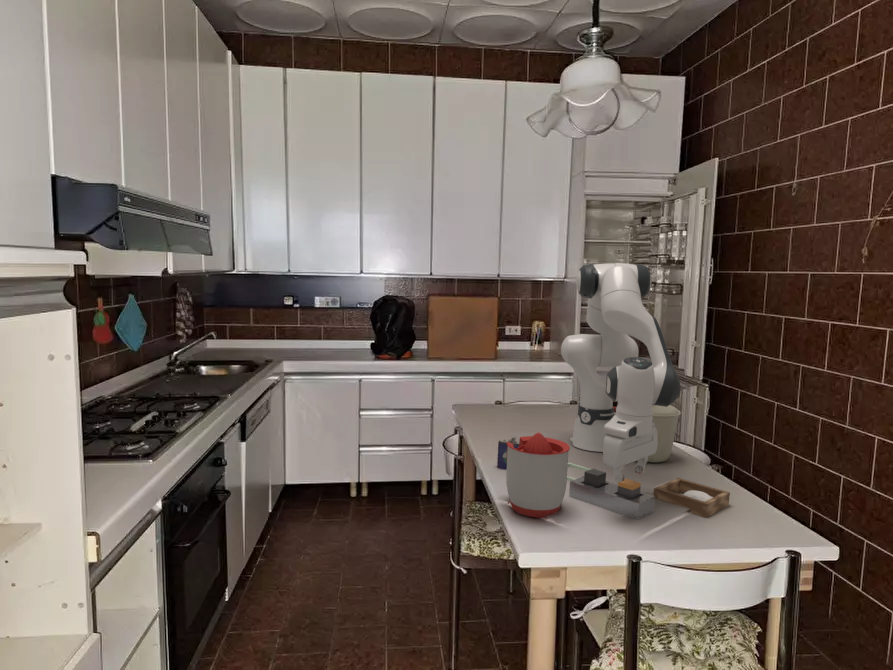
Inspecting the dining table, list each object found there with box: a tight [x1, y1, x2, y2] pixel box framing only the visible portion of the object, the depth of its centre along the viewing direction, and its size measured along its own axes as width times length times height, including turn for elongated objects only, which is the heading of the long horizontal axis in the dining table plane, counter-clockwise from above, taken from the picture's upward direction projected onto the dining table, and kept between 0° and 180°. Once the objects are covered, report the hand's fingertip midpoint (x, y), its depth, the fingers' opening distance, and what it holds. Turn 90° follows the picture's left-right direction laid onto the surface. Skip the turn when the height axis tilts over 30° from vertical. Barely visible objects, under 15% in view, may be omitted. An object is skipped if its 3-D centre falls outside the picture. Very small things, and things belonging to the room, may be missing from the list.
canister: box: [646, 404, 682, 464], centre depth 204 cm, size 18×18×21 cm
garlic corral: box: [653, 477, 731, 519], centre depth 166 cm, size 13×14×4 cm
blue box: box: [496, 435, 519, 471], centre depth 187 cm, size 9×3×11 cm, turn 78°
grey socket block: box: [568, 475, 656, 520], centre depth 161 cm, size 8×20×5 cm, turn 43°
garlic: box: [682, 490, 713, 502], centre depth 164 cm, size 8×7×4 cm
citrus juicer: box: [503, 432, 571, 519], centre depth 157 cm, size 16×17×20 cm
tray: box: [567, 461, 592, 482], centre depth 184 cm, size 12×12×2 cm
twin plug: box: [583, 468, 607, 488], centre depth 164 cm, size 4×4×7 cm
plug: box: [617, 478, 642, 500], centre depth 157 cm, size 4×4×7 cm
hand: (629, 477), depth 157 cm, fingers open, 8 cm apart
